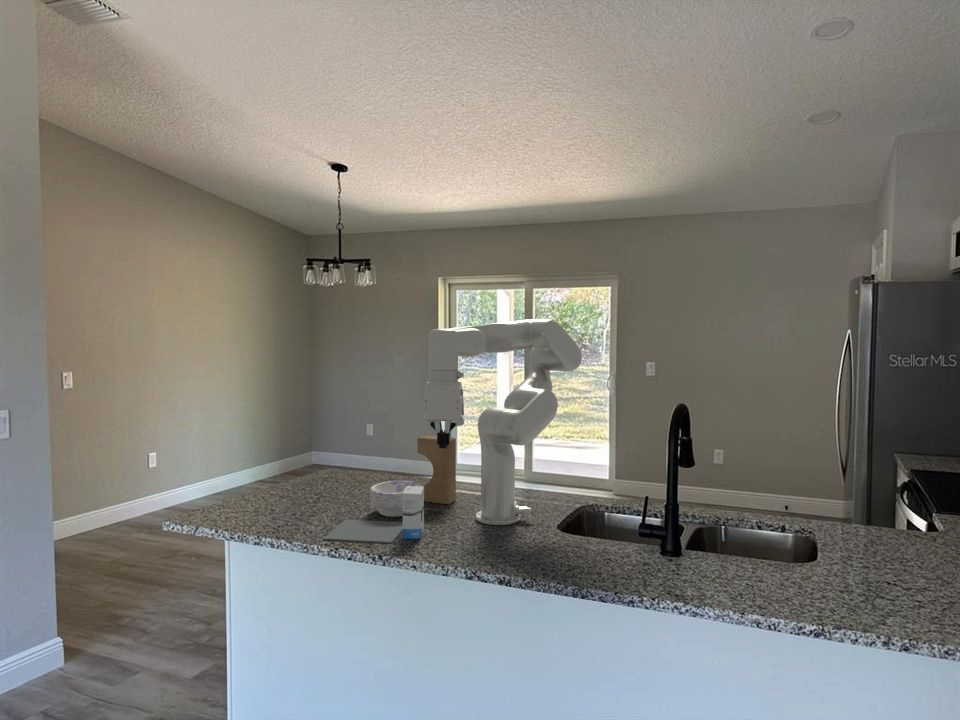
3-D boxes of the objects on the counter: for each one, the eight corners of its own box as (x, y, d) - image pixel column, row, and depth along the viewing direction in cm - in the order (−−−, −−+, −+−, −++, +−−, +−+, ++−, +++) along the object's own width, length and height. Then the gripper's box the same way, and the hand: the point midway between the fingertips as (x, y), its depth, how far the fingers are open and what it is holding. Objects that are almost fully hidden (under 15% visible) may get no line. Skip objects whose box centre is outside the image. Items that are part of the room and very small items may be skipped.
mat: (408, 523, 168) (408, 522, 168) (392, 543, 153) (392, 541, 153) (345, 521, 171) (345, 519, 171) (323, 540, 155) (323, 538, 155)
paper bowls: (361, 518, 174) (361, 490, 173) (382, 504, 188) (382, 478, 188) (412, 522, 170) (412, 494, 170) (429, 507, 185) (429, 481, 184)
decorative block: (416, 501, 192) (416, 437, 191) (425, 496, 197) (425, 435, 196) (448, 505, 187) (448, 440, 186) (456, 500, 192) (456, 437, 191)
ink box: (421, 539, 156) (421, 493, 155) (401, 539, 156) (401, 493, 155) (424, 528, 164) (424, 485, 164) (406, 528, 164) (406, 485, 164)
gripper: (474, 376, 160) (474, 446, 161) (418, 375, 162) (418, 444, 163) (470, 378, 153) (469, 451, 153) (411, 377, 155) (411, 449, 155)
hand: (443, 447), depth 158 cm, fingers closed
